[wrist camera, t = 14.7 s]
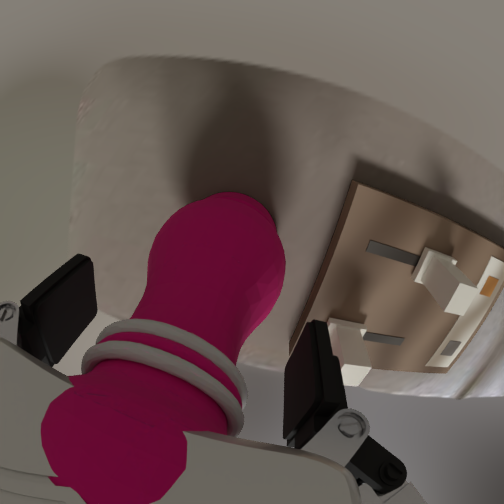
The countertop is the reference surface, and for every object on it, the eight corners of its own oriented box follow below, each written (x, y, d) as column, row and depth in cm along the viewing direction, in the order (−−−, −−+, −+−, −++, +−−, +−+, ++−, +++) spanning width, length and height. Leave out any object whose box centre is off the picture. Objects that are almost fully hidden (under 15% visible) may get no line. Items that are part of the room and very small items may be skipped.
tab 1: (365, 324, 19) (379, 365, 15) (351, 347, 20) (362, 388, 16) (329, 317, 19) (338, 360, 15) (317, 341, 20) (322, 384, 16)
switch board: (508, 250, 16) (518, 258, 15) (441, 364, 22) (446, 374, 21) (352, 179, 16) (358, 184, 15) (289, 343, 22) (289, 357, 21)
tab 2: (453, 257, 16) (484, 287, 12) (439, 285, 17) (466, 319, 13) (425, 246, 16) (456, 278, 12) (410, 277, 17) (436, 313, 13)
